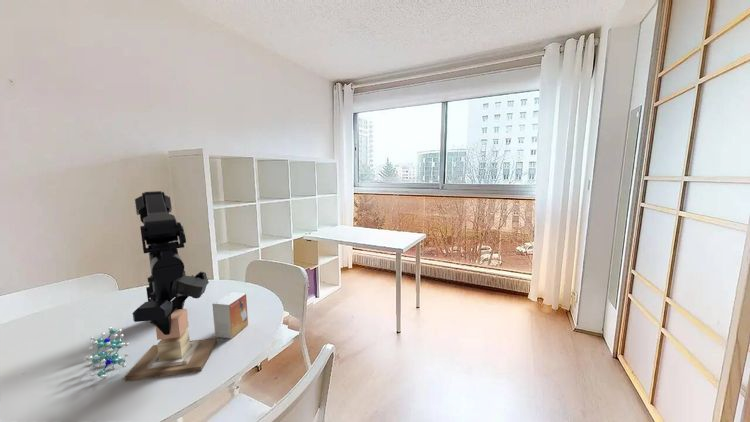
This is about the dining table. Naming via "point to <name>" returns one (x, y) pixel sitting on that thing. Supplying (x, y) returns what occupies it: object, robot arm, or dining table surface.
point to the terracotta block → (175, 325)
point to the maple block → (174, 347)
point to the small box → (230, 315)
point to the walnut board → (173, 361)
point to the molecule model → (103, 356)
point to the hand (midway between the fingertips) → (172, 328)
